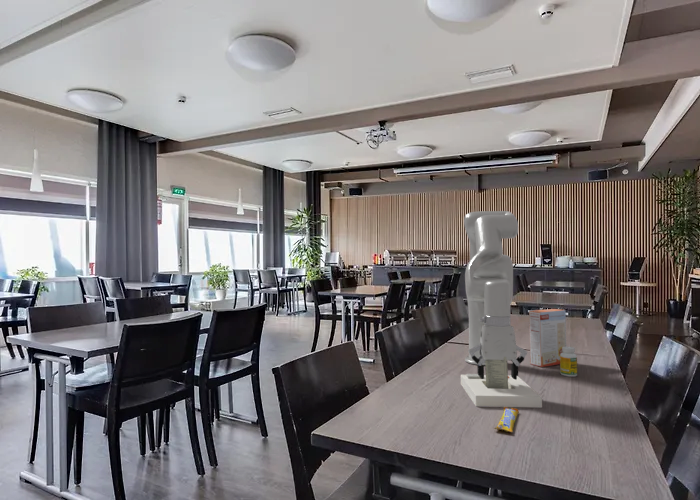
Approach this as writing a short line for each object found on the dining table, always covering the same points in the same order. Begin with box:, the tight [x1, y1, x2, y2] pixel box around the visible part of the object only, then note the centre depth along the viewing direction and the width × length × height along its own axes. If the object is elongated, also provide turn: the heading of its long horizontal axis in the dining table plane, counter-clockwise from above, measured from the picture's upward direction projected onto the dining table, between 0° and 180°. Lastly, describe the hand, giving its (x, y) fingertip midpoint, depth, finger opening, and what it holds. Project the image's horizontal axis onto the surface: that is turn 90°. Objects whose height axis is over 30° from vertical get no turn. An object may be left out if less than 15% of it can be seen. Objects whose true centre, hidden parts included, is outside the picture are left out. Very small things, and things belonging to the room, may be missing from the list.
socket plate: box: [460, 373, 543, 408], centre depth 134 cm, size 22×18×4 cm
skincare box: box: [484, 357, 509, 389], centre depth 134 cm, size 6×4×12 cm
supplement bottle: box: [559, 346, 578, 378], centre depth 156 cm, size 5×5×10 cm
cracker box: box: [528, 308, 567, 368], centre depth 173 cm, size 14×6×21 cm, turn 115°
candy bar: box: [493, 407, 520, 433], centre depth 112 cm, size 17×4×2 cm, turn 153°
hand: (497, 378), depth 134 cm, fingers open, 9 cm apart
